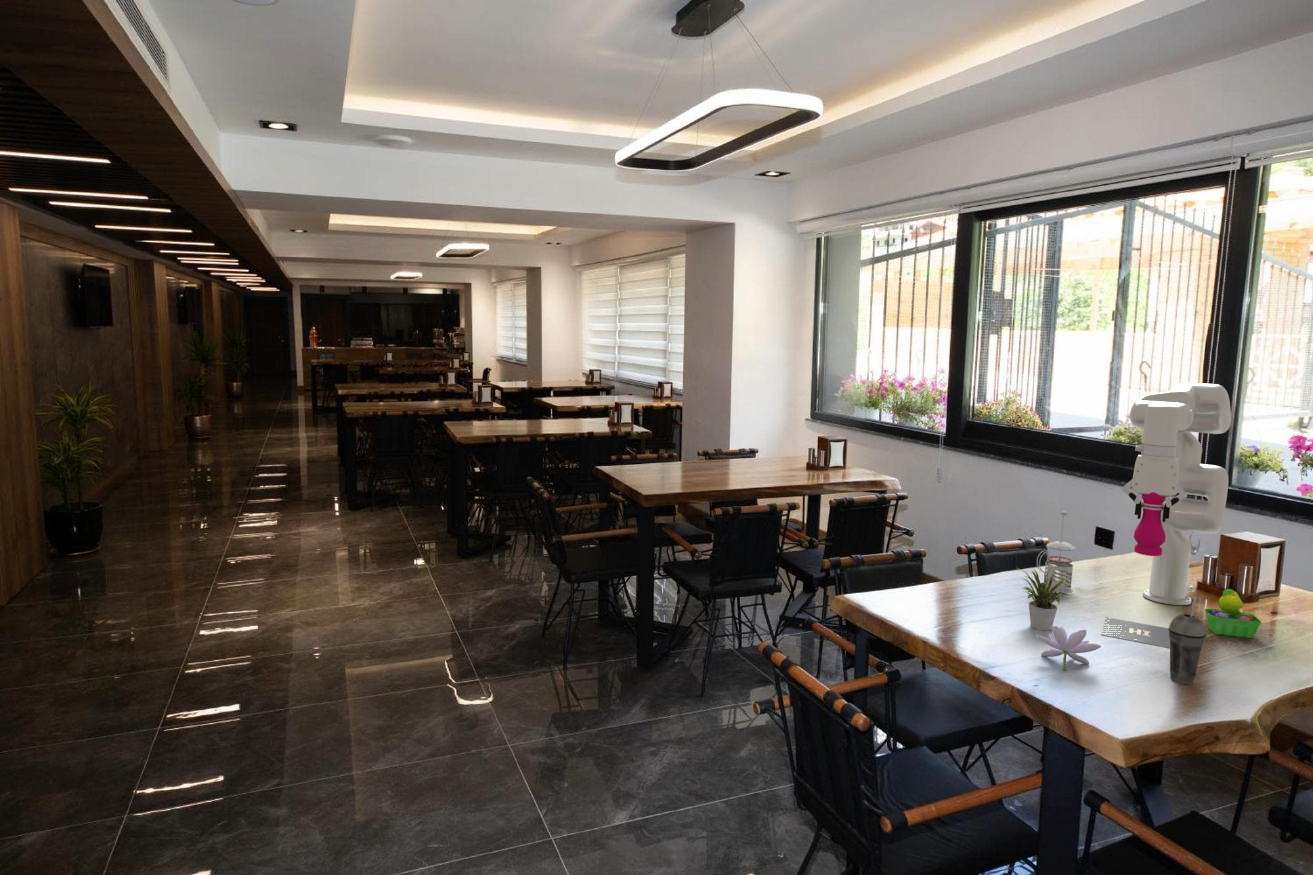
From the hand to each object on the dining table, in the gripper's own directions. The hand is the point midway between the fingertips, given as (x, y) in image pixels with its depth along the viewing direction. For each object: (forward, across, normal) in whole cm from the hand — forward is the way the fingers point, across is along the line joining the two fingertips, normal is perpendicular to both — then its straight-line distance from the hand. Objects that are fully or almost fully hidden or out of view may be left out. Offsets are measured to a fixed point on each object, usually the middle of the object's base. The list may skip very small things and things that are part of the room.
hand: (1151, 518), depth 213 cm
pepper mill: (+10, 0, 0) cm, 10 cm away
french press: (+32, -24, +29) cm, 49 cm away
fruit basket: (+32, +21, +16) cm, 41 cm away
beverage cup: (+31, +9, -31) cm, 45 cm away
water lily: (+31, -14, -36) cm, 50 cm away
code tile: (+31, 0, 0) cm, 31 cm away
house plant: (+31, -24, -12) cm, 41 cm away
